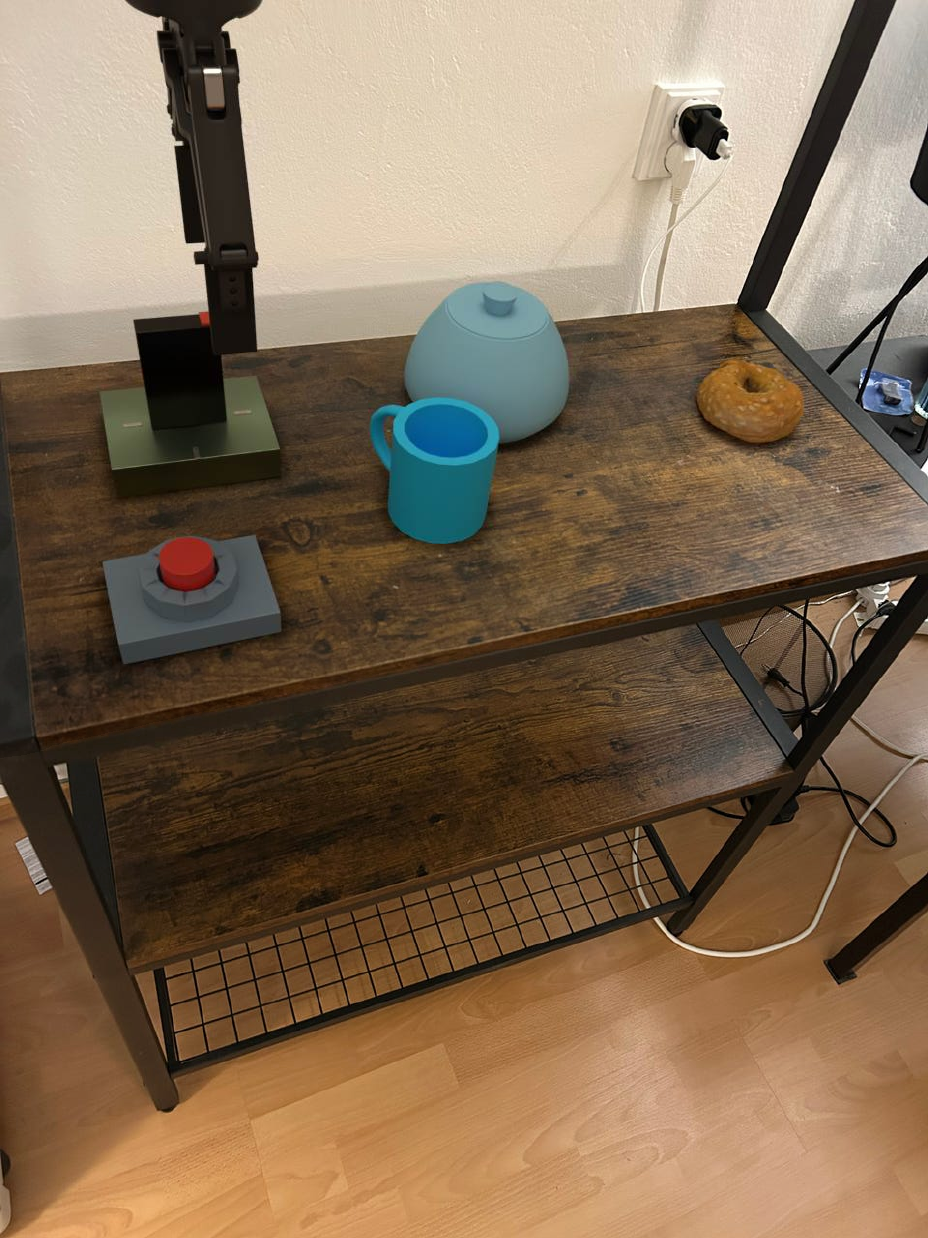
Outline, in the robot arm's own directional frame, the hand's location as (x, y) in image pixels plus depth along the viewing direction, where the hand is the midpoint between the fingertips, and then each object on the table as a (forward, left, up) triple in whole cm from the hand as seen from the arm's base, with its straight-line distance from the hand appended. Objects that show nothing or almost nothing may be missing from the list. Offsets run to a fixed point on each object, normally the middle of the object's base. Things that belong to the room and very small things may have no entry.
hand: (218, 292), depth 65 cm
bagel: (+43, -23, -18) cm, 52 cm away
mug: (+11, -10, -18) cm, 24 cm away
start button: (-10, -7, -14) cm, 19 cm away
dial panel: (+1, +7, -18) cm, 19 cm away
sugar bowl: (+25, -5, -18) cm, 31 cm away
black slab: (+1, +7, -15) cm, 16 cm away
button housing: (-10, -7, -18) cm, 22 cm away
